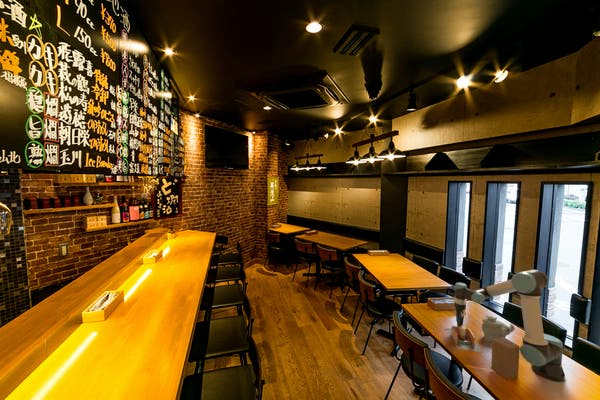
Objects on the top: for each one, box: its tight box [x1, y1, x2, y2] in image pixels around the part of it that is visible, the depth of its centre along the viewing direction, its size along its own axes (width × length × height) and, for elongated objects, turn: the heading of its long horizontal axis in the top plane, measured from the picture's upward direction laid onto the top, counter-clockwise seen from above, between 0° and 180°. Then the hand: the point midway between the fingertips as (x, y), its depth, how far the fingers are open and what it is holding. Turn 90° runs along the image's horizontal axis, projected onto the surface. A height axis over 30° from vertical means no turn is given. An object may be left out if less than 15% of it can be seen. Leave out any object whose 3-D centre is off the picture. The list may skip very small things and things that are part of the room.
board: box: [446, 327, 483, 353], centre depth 192 cm, size 27×16×1 cm, turn 163°
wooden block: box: [490, 337, 521, 380], centre depth 158 cm, size 10×10×20 cm
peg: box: [459, 325, 466, 341], centre depth 190 cm, size 4×4×10 cm
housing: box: [451, 325, 476, 347], centre depth 190 cm, size 12×12×7 cm
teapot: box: [481, 315, 516, 343], centre depth 190 cm, size 16×15×19 cm
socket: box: [458, 335, 471, 345], centre depth 190 cm, size 8×8×2 cm
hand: (459, 332), depth 198 cm, fingers closed
